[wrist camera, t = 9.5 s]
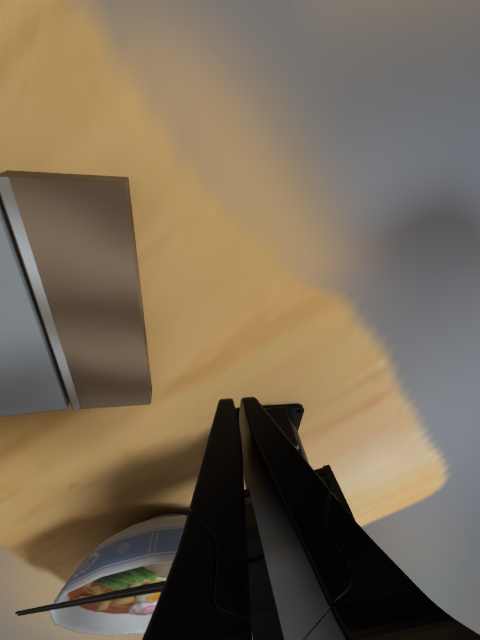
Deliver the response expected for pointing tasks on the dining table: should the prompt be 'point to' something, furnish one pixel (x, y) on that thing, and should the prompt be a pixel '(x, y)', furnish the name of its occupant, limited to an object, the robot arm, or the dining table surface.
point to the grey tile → (23, 339)
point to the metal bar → (84, 281)
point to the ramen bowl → (119, 580)
